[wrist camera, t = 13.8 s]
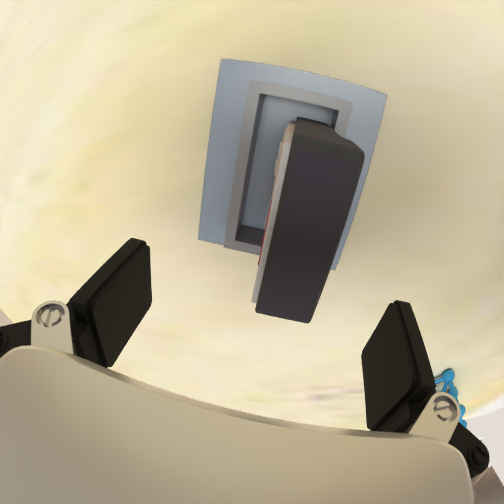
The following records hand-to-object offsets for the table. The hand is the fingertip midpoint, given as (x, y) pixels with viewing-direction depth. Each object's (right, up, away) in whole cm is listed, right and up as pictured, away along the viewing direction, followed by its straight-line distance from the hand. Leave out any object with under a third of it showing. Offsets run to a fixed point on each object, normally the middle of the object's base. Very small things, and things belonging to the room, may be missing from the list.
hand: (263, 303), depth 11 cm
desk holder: (+3, +10, +18) cm, 21 cm away
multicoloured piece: (+4, +10, +18) cm, 21 cm away
